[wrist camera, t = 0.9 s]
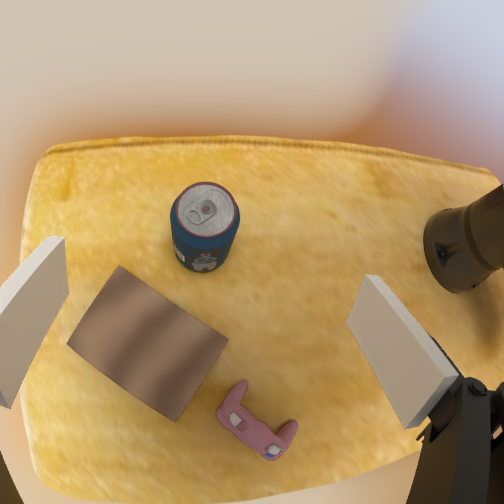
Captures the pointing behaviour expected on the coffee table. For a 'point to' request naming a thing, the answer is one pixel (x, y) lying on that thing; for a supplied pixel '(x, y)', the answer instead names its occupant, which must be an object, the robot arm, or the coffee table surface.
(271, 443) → the video game controller
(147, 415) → the coffee table surface
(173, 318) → the walnut board
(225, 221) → the soda can
